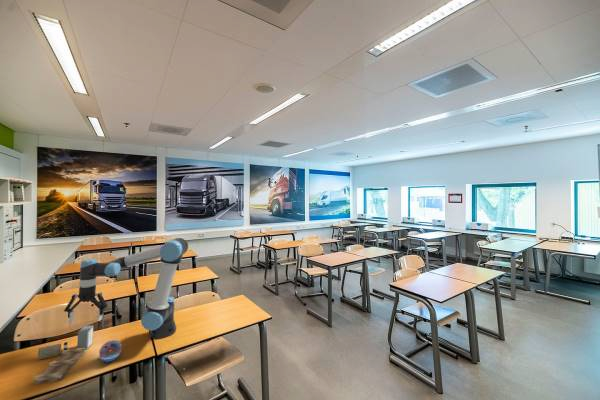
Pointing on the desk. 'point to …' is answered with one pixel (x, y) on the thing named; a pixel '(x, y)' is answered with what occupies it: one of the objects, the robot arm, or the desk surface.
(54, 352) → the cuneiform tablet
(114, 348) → the cell model
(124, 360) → the desk surface
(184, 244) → the robot arm
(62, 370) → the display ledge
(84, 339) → the frame block
